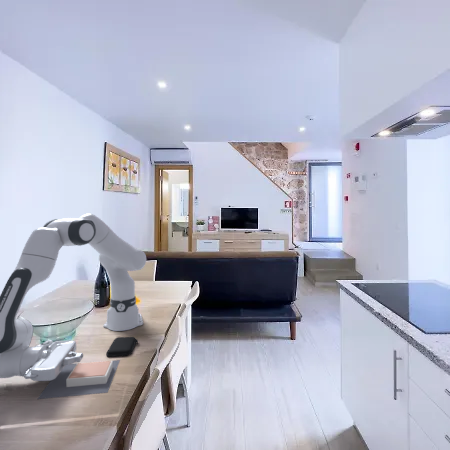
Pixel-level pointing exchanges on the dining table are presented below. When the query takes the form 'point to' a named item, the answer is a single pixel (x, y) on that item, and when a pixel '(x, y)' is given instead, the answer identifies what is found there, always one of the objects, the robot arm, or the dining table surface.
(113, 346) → the carrying case or bag
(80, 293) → the dining table surface
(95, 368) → the tile
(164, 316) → the dining table surface
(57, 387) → the mat
